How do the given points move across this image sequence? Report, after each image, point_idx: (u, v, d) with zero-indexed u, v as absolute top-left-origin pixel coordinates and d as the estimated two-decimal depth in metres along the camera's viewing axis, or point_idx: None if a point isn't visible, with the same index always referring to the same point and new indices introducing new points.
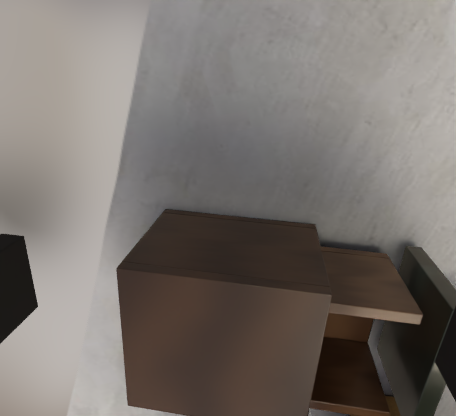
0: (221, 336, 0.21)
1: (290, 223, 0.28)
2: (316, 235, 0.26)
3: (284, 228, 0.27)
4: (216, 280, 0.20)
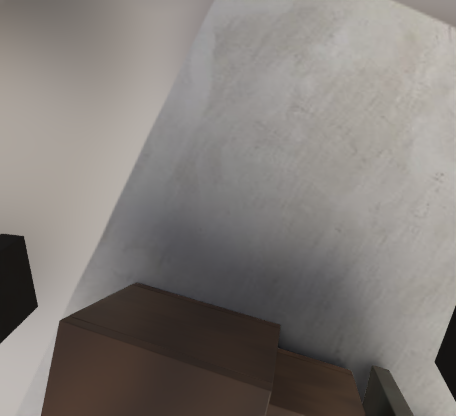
0: None
1: (255, 318, 0.27)
2: (277, 334, 0.25)
3: (247, 321, 0.26)
4: (154, 352, 0.19)
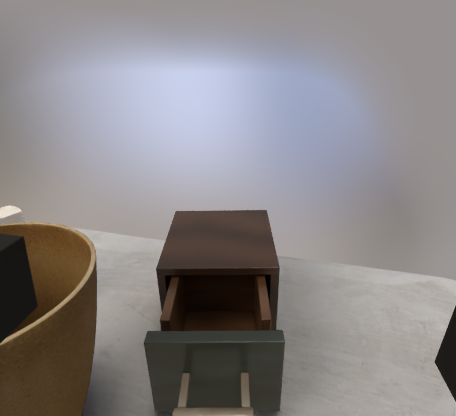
0: (235, 235, 0.37)
1: None
2: None
3: None
4: (271, 233, 0.38)
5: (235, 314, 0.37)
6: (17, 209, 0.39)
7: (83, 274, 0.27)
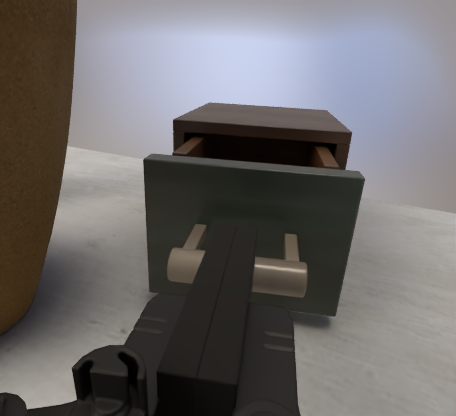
0: (286, 115, 0.27)
1: None
2: None
3: None
4: (336, 119, 0.27)
5: None
6: None
7: None
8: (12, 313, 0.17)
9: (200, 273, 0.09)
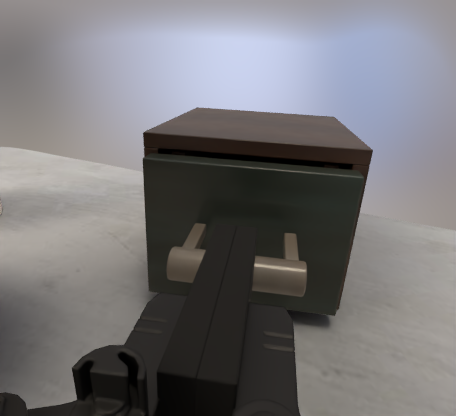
0: (287, 125, 0.22)
1: None
2: (344, 279, 0.19)
3: None
4: (347, 129, 0.22)
5: None
6: None
7: None
8: None
9: (200, 273, 0.09)
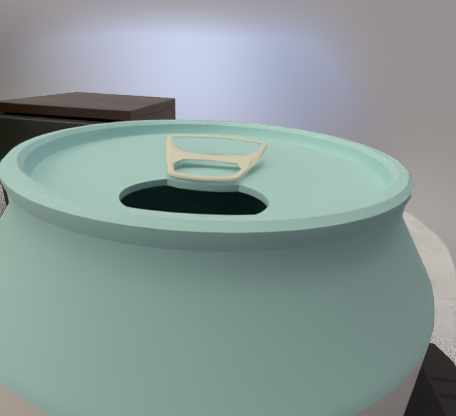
0: (115, 101, 0.32)
1: None
2: None
3: None
4: (157, 103, 0.32)
5: None
6: None
7: None
8: None
9: None
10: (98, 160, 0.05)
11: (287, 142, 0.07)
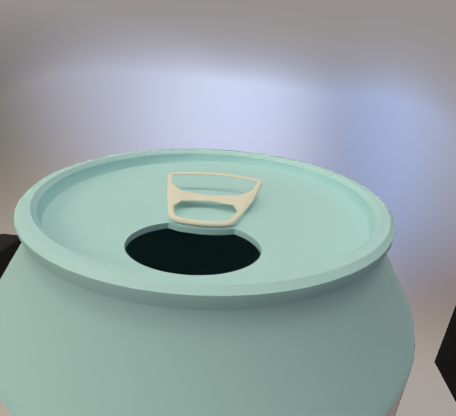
0: None
1: None
2: None
3: None
4: None
5: None
6: None
7: None
8: None
9: None
10: (103, 199, 0.06)
11: (282, 172, 0.08)
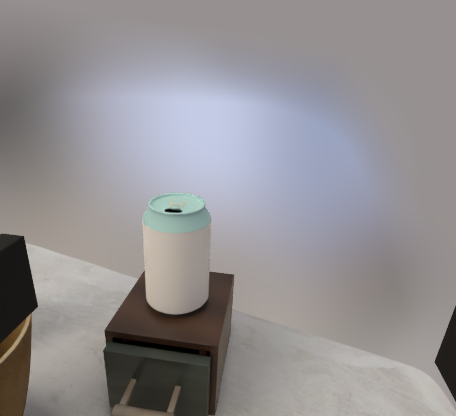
0: None
1: None
2: (215, 400, 0.36)
3: (219, 385, 0.38)
4: (227, 304, 0.39)
5: None
6: None
7: None
8: None
9: None
10: (159, 204, 0.35)
11: (194, 198, 0.37)
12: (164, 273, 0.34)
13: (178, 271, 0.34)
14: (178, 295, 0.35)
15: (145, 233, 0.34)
